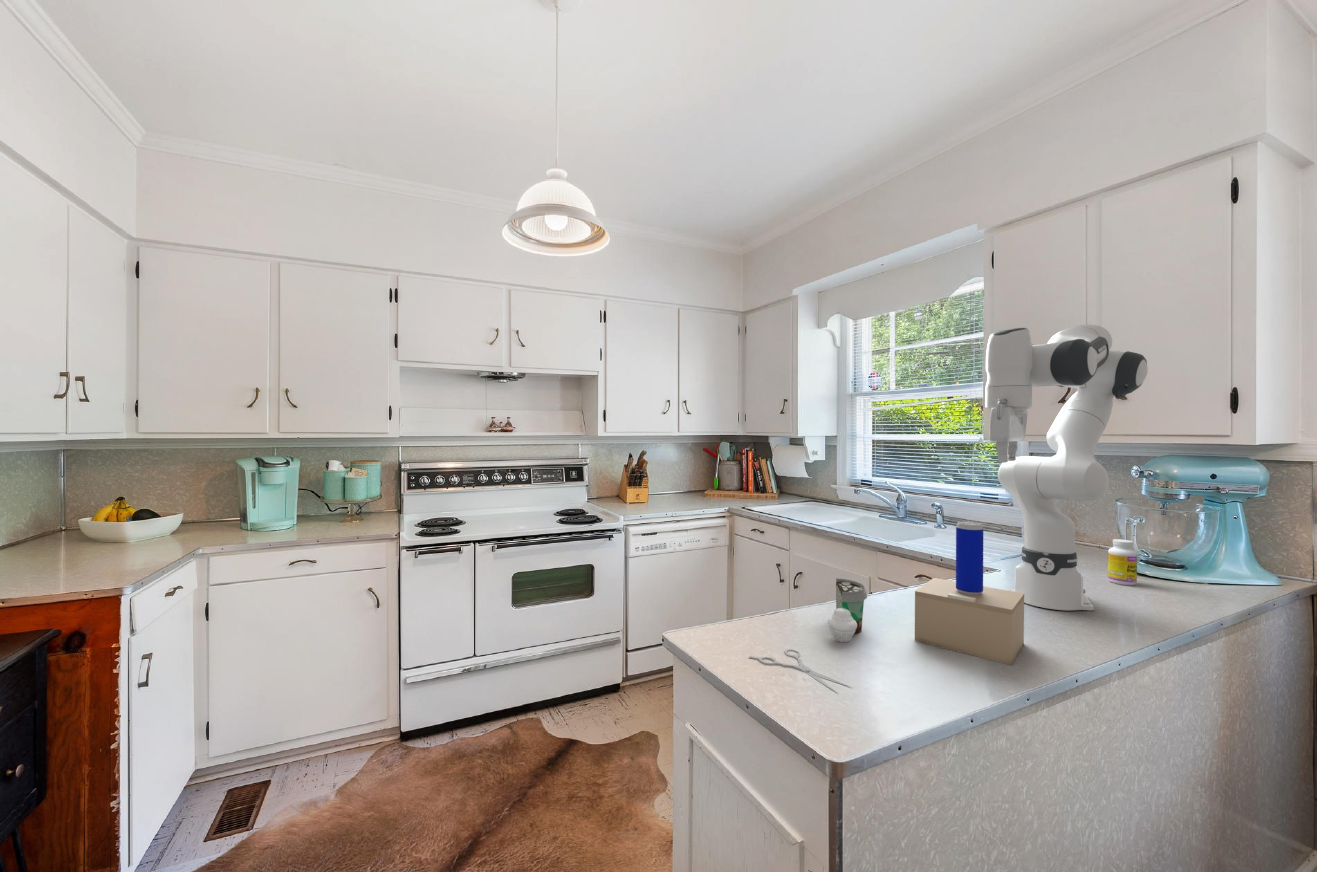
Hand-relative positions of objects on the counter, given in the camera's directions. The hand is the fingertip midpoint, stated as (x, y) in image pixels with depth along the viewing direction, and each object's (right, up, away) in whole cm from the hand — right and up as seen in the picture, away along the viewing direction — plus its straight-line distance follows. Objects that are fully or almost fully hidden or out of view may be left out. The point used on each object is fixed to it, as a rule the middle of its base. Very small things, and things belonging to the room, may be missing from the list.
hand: (1007, 461), depth 122 cm
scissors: (-51, -40, -18) cm, 67 cm away
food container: (-33, -39, +4) cm, 52 cm away
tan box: (-11, -39, -4) cm, 41 cm away
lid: (-11, -29, -4) cm, 32 cm away
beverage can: (-11, -28, -4) cm, 31 cm away
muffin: (-38, -39, -3) cm, 55 cm away
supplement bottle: (+62, -39, +42) cm, 84 cm away
